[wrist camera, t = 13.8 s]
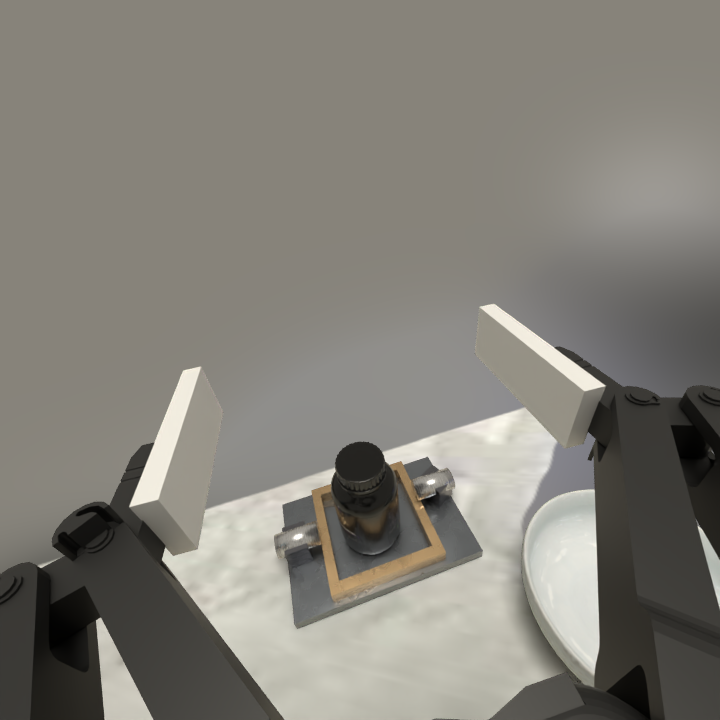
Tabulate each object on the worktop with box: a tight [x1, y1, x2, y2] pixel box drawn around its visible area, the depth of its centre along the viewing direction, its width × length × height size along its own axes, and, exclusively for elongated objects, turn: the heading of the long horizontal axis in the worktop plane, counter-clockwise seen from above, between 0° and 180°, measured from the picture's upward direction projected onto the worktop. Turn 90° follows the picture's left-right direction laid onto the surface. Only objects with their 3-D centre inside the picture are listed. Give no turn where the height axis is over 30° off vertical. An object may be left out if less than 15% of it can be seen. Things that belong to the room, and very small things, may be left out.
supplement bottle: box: [331, 442, 400, 555], centre depth 35 cm, size 7×7×12 cm
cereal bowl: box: [521, 490, 720, 687], centre depth 28 cm, size 17×17×7 cm
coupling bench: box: [274, 457, 483, 629], centre depth 38 cm, size 21×13×5 cm, turn 106°
